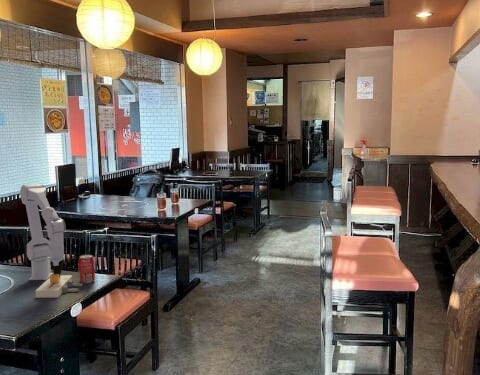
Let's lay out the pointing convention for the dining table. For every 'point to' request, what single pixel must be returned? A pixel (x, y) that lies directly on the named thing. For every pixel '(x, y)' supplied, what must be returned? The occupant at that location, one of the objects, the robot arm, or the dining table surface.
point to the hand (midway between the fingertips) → (57, 277)
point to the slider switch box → (53, 287)
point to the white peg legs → (71, 284)
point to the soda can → (86, 269)
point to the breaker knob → (54, 278)
